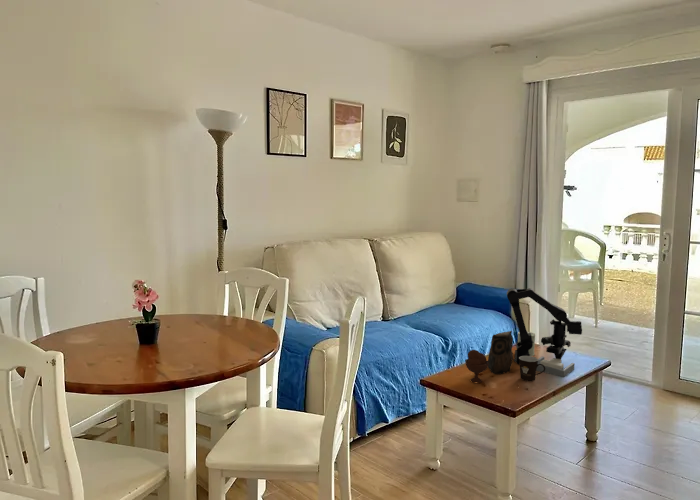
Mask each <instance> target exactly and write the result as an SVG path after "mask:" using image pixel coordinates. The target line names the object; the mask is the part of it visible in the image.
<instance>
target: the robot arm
mask: <svg viewBox="0 0 700 500" xmlns="http://www.w3.org/2000/svg"><path fill="white" fill-rule="evenodd" d="M506 298H507V300H508V301H509V304H510V305H511V307H512V311H513V314H514V318H515V321H516V325H517V328H518V332H520V342H518V341H517V343H516V344H515V347H516V349H514V351H515V352H514V358H513V361H514V362H515V363H516V364H517V365H520V364H519V357H520V356H530V354H529V350H530V349H531V348H532V346H533V344H532V343H534V342H533V339H532V336H531V333H528V332H529V331H528V330H527V328H526V323H525V321H524V316H523V314H522V310H521V307H520V300H522V299H526V298H530V299H532V300H533V301H534V302H535V303H537V304H538V305H540V306H541V307H542V308H544V309H545V310H547V312H549V313H550V314H551V316H552V317H553V319H551V321H549V324H550V326H551V325H553V334H551V335H550V336H544V337H541V339H540V343H541V344H542V346H545V345H549V346H548V347H546V350H545V351H546V353H550V354H553V355H554V356H555V357H554V358H556V359H561V360H562V358H563V357H564V355H565V354H566V351H567V348H565V346H566V347H568V348H569V347H571V345H572V344H571V343H572V342H571V341H570V340H567V339H566V338H567V334H566V332H567V333H568V334H569V335H577V336H578V335H579V336H580V335H583V328H582V327H583V326H582V321H581V320H570V319H569V318H568V314H567V312H566V310H565V309H563V308H562V307H560V306H557V305H555V304H553V303H551V302H550V301H548V300H547V299H546V298H544V297H543V296H541V295H540V294H538V293H537V292H535V291H534V289H532V288H519V289H516V288H509V289H508V290H507V291H506ZM554 318H555V319H554Z"/></svg>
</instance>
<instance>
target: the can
mask: <svg viewBox="0 0 700 500" xmlns="http://www.w3.org/2000/svg"><path fill="white" fill-rule="evenodd" d="M527 332H528V333H531V336H532V339H533V342H534V343H532V344H533V346H532V348H531V349H530V350H529V354H530V356H532V357H535V345H536V344H535V343H536V333H534V332H531V331H527ZM518 342H520V332H519V331H518V332H517V343H518Z"/></svg>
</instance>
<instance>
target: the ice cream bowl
mask: <svg viewBox="0 0 700 500" xmlns="http://www.w3.org/2000/svg"><path fill="white" fill-rule="evenodd" d="M464 362H465V367H466V368H467V369H468V370H469V371H470V372H472V373H474V377H472V378H470V380H471V381H472V382H471V381H470V382H471V383H473V382H481V383H482V382H483V380H482V379H481V378H480V377H479V374H481V373H483V372H485V371H486V370H487V369H489V368H488V365H489V363H488V358H487V357H486V356H485V354H484V353H482V352H479V350H476V349H471V350H470V351H468V353H467V359H464Z"/></svg>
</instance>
